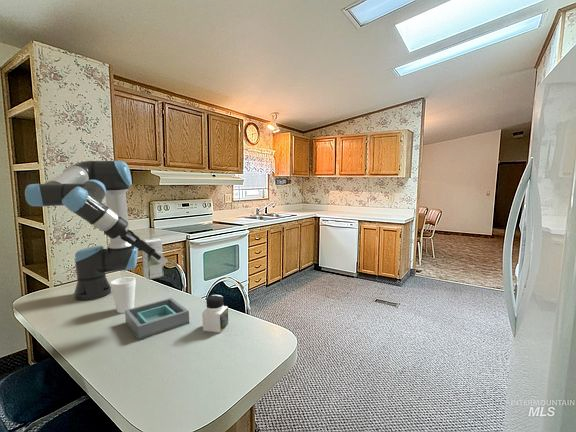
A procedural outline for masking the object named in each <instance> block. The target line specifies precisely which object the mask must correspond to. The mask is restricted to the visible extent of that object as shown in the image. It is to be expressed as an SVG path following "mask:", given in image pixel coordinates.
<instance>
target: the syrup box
mask: <svg viewBox="0 0 576 432" xmlns="http://www.w3.org/2000/svg"><path fill="white" fill-rule="evenodd" d="M141 240H142V241H143V242H145V243H146V244H147V245H149V246H150V247H151V248H153V249H155V251H157V252H158V253H159V254H161V255H162V256H163V257H164V255H163V242H162V239H160V238H158V237H154V238H146V239H141ZM148 256H149V255H148V254H147V253H145V252H144V251H141V263H142V277H143V278H145V279H147V280H148V281H149V280H153V279H158V278H159V279H160V278H163V277H164V276H165V275H164V266H163V265H161V264H160V263H158V262H157V261H156V260H154V259H153V258H151V257H150V258H149V257H148Z"/></svg>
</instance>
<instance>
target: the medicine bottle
mask: <svg viewBox="0 0 576 432" xmlns="http://www.w3.org/2000/svg"><path fill="white" fill-rule="evenodd" d="M205 301H206V309H205V310H204V311H203V312H202V313H201V314H202V315H201V318H202V330H203V332H211V333H220V334H221V333H222V332H223V331H224V329H225V328H226V327H228V325H229V307H228V306H227V305H224V296H222V295H220V294H212V295H209V296H208V297H206V299H205Z"/></svg>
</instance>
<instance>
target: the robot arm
mask: <svg viewBox="0 0 576 432" xmlns="http://www.w3.org/2000/svg"><path fill="white" fill-rule="evenodd" d="M132 181H133V180H132V175H131V170H130V167H129V165H128V163H127V162H125V161H122V160H87V161H86V160H85V161H81V162H77V163H74V164H72V165H70V166H68V167H66V168H65V169H64V170H63V171H62V173H61V174H59V175H56V176H55V177H54V178H51V179H50V180H48V181H47V182H45V183H32V184H31V183H30V184H28V185H27V186H26V187H25V190H24V197H25V201H26V203H27V204H28V205H29V206H31V207H54V206H55V207H58V206H59V207H60V206H65V208H66V209H68V210H69V211H70V212H73V213H74V214H76V216H79V218H81V219H83V220H85V221H86V222H87V223H89V224H90V225H92V227H93V229H94V230H96V229H97V230H99V231H100V232H103V234H104V235H106V236H107V237H108V238H109V243H108V244H107V248H104V247H105V246H103V245H94V246H89V247H86V248H82V249H79V250H78V251H76V252H75V255H74V257H75V258H74V259H75V260H74V263H75V270H76V278H77V282H76V286H75V289H74V294H73V295H74V299H75V300H78V301H89V300H95V299H100V298H102V297H105V296H107V295H109V294H110V293H111V292H112V289H111V284H110V282H109V280H108V278H107V276H106V273H113V272H122V271H123V272H125V271H129V270H130V271H131V270H134V269H136V267H137V265H138V264H137V263H138V257H139V251H141V252H142V251H144V252H145V253H147V254H148V255H149V256H148V257H149V258H150V257H151V258H153V259H154V260H156V261H157V262H158V263H160V264H161V265H163V267H164V266H165V265H166V264H167V263H168V261H169V259H167V258H166V257H165V256H164V255H163V256H162V255H161V254H159V253H158V252H157V251H155V249H153V248H151V247H150V246H149V245H147V244H146V243H145V242H143V241H142V240H143V239H141V238H140V237H139V236H138V235H136V234H135V232H133V231H132V230H130V226H129V225H130V224H129V215H128V214H129V213H128V205H127V204H128V203H127V192H128V191H129V189H130V188H129V187H131V186H132V184H133V182H132ZM104 199H105V204H104V203H103V202H102V201H103V200H104Z"/></svg>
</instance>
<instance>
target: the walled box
mask: <svg viewBox="0 0 576 432" xmlns="http://www.w3.org/2000/svg"><path fill="white" fill-rule="evenodd" d="M124 315H125V323H126V325H127V326H128V328H129V329H130V330H131V332H132V333H133V334H134V335H135V337H136V336H137V337H136V338H137V340H139V341H141V339H142V340H145V339H148V338H150V337H154V336H156V335H160V334H162V333H165V332H169V331H171V330H173V329H177V328H179V327H183V326H186V325H189V324H190V312H189V310H188V309H186V308H185V306H183V305H181V304H180V303H179V302H178V301H176V300H175V299H174V298H172V297H168V298H166V299H161V300H158V301H155V302H154V301H153V302H151V303H147V304H143V305H140V306H139V305H138V306H134V308H132V309H128V310H125V313H124ZM153 335H154V336H153ZM144 338H145V339H144Z"/></svg>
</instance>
